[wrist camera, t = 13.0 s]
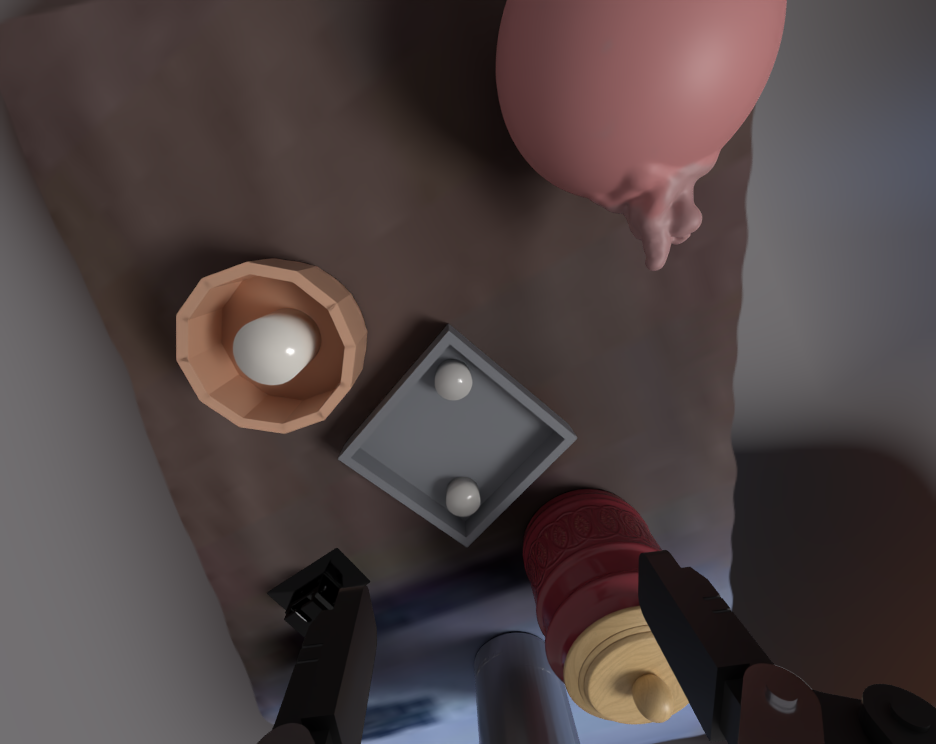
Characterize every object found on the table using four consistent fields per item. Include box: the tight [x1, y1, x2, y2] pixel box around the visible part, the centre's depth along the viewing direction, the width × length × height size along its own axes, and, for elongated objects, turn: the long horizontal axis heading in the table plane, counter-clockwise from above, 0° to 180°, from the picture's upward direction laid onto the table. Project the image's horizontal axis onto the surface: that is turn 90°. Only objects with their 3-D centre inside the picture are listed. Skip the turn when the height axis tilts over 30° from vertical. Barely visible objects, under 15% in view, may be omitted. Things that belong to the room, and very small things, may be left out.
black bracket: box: [267, 548, 370, 637], centre depth 44 cm, size 12×7×5 cm, turn 125°
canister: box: [523, 489, 689, 724], centre depth 37 cm, size 13×13×18 cm
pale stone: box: [233, 308, 321, 385], centre depth 34 cm, size 5×5×5 cm
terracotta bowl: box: [176, 258, 367, 434], centre depth 34 cm, size 13×13×6 cm
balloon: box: [496, 0, 787, 271], centre depth 26 cm, size 15×20×15 cm
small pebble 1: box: [435, 359, 472, 400], centre depth 38 cm, size 3×3×2 cm
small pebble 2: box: [446, 477, 480, 517], centre depth 41 cm, size 3×3×2 cm
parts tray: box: [338, 323, 577, 547], centre depth 39 cm, size 15×15×3 cm
